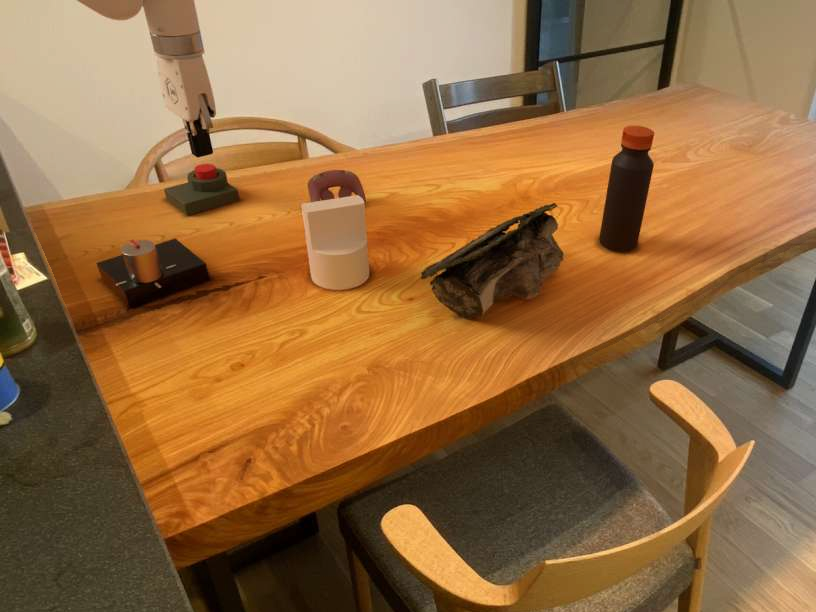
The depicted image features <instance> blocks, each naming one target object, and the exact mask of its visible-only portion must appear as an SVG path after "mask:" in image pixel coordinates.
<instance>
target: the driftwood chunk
mask: <svg viewBox="0 0 816 612" xmlns="http://www.w3.org/2000/svg"><path fill="white" fill-rule="evenodd" d="M556 208H558V204H557V203H556V202H553V203H550V204H545V205H542V206H540V207H538V208H536V209H533V210H532V211H531V210H530V211H529V212H526V213H524V214H522V215H519V216H514V217H513V218H511V219H508V220H506V221H504V222H502V223H500V224H497V225H496V226H494V227H491V228H489V229H488V230H487V231H486V232H485V233H483V234H481V235H479V236H478V237H477V238H474V239H472V240H471V241H470V242H468V243H467V244H466V245H464V246H462V247H461V248H460V247H459V249H457V250H455V251H454V252H452V253H450V254H449V255H447V256H446V257H444V258H442V259H441V260H440V261H437V262H434V263H432V264H431V265H428V266H426V267H425V268H424V269H423V270H422V271H421V272H420V274H421V276H420V280H425V279H428V278H432V277H433V278H432V280H431V281H430V282H429V285H430V286H431V290H432V293H433V294H434V295H435V298H436V299H437V300H438V301H439V303H441V304H442V305H443V306H445V307H446V308H447V309H449V310H450V311H452V312H453V313H455V314H457V315H456V316H458V317H459V318H462V319H465V320H470V319H472V318H476V317H483V316H484V314H485V312H487V311H488V310H489V309H490V308H491V306H492V305H493V304H494V299H495V300H499V299H506V298H508V297H511V296H515V297H516V296H517V297H519V298H521V299H524V300H529V299H533V298H535V297H537V296H538V295H539V294H541V289H542V285H543V283H544V282H545V280H547V279H548V278H550V276H551V275H552V274H554V273H555V272H556V271H557V270H558V269H559V268H560V267H561V262H562V261H564V251H563V249H562V248H561V247H560V246H559V243H558V242H557V240H556V239H555V237H554V235H553V234H554V233H555V232H556V231H558V229H559V224H558V221H557V219H556V218H555V217H554V215H552V214H548V213H547V212H552V211H553V210H554V209H556ZM516 224H517V228H515V229H511V230H509V229H510V228H511V227H513V226H514V225H516ZM508 230H509V231H508ZM439 272H441V273H439ZM438 273H439V274H438Z"/></svg>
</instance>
